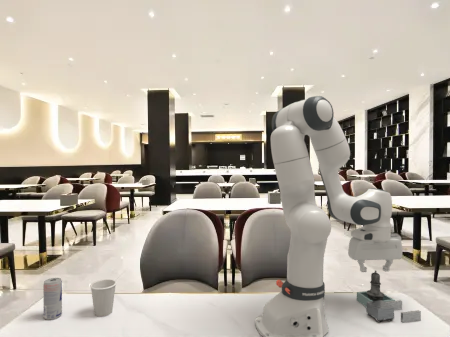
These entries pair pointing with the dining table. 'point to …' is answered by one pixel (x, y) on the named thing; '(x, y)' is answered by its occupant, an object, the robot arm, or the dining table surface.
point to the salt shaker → (375, 288)
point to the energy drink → (52, 298)
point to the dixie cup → (103, 296)
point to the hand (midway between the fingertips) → (374, 271)
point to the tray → (363, 299)
